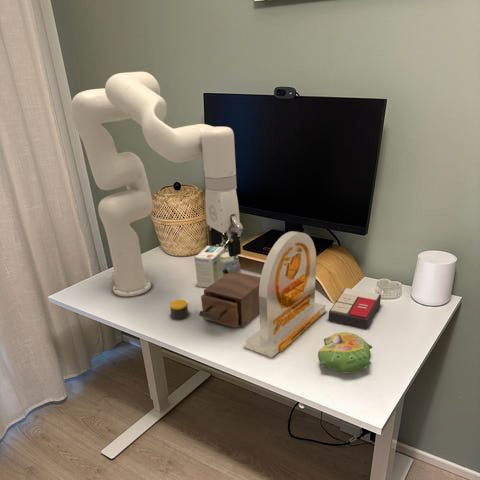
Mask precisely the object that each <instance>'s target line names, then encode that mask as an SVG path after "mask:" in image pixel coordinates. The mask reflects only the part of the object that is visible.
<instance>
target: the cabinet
mask: <svg viewBox="0 0 480 480" xmlns="http://www.w3.org/2000/svg"><path fill="white" fill-rule="evenodd" d="M260 278H261V276H258V275H257V276H256V275H252V274H249V273H243V272H241V273H239V272H234V271H230V272H229V273H228V274H226V275H225V276H223V277H222V278H220V279H219V280H217V281H216V282H214V283H213V284H212V285H210V286H209V287H205V288H203V295H207V296H208V294H213V295H217V296H221V297H225V298H229V299H233V300H237V301H239V313H240V322H238V327H237V328H244V327H245V326H246V325H247V324H249V322H251V321H252V320H253V319H254V318H255V317H256V316H258V315H259V285H260Z"/></svg>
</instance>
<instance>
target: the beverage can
mask: <svg viewBox="0 0 480 480" xmlns="http://www.w3.org/2000/svg"><path fill="white" fill-rule="evenodd" d="M220 264H221V268H222V273H223V276H225V275H226V274H228V273H229V272H230V271H234V272H239V273H242V269H241V264H240V259H239V255H236V256H232V257H230V256H229V251H226V252H225V253H223V254H222V255H221V258H220Z"/></svg>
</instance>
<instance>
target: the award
mask: <svg viewBox="0 0 480 480" xmlns="http://www.w3.org/2000/svg"><path fill="white" fill-rule="evenodd" d="M260 277H261V278H260V285H259V314H258V316H259V329H258V330H257V331H256V332H254V333H253V334H252V335H251V336H249V337H248V338H247V339H246V340H245V341H244V343H245V345H244V346H245V349H248V350H250V351H253V352H255V353H258V354H261V355H263V356H265V357H269V358H271V359H273V358H274V357H275V356H276V355H277V354H279V352H280V353H281V352H283V351H284V350H285V349H286V348H287V347H288V346H289V345H290V344H291V343H293V341H294V340H296V339H297V338H298V337H299V336H300V335H301V334H302V333H303V332H304V331H306V330H307V329H308V328H309V327H311V325H312V324H313V323H315V322H316V321H317V320H318V319H319V318H320V317H321V316H322V315H323V314H324V313H326V305H325V304H322V303H320V302H316V280H317V279H316V277H317V250H316V247H315V243H314V241H313V239H312V238H311V237H310V235H309V234H308V233H305V232H300V231H295V230H292V231H288V232H285V233H284V234H282V235H281V236H280V237H279V238H278V239H277V241H275V243H274V244H273V246H272V247H271V249H270V250H269V252H268V255H267V257H266V259H265V261H264V264H263V267H262V270H261V274H260Z"/></svg>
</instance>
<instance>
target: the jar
mask: <svg viewBox="0 0 480 480" xmlns="http://www.w3.org/2000/svg"><path fill="white" fill-rule="evenodd" d="M169 308H170V315H171V319H173V320H179V321H180V320H184V319H186V318H188V317H189V307H188V302H187V301H186V299H185V300H184V299H175V300H172V301H171V302H170V303H169Z"/></svg>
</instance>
